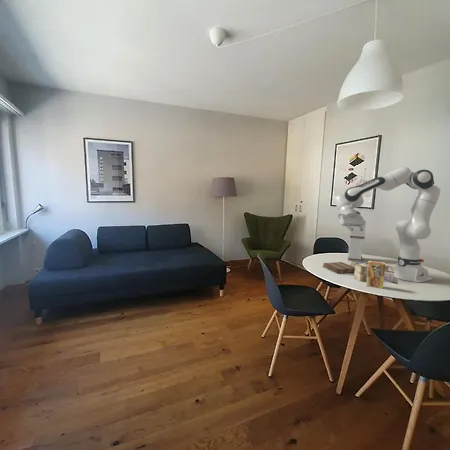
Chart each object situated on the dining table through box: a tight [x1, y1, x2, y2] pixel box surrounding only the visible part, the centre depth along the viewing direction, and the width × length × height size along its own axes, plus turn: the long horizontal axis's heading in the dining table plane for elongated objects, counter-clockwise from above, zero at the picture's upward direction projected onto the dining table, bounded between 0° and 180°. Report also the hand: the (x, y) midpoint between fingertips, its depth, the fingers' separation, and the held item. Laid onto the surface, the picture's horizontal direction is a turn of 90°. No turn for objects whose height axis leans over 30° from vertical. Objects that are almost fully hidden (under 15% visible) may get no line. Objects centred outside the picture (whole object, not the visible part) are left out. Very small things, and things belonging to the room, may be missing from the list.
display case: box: [347, 218, 367, 263], centre depth 217 cm, size 11×11×35 cm
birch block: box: [353, 263, 368, 282], centre depth 170 cm, size 5×5×10 cm
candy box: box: [366, 260, 386, 289], centre depth 158 cm, size 9×4×15 cm, turn 62°
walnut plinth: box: [322, 261, 355, 274], centre depth 191 cm, size 16×16×3 cm
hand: (357, 230), depth 176 cm, fingers open, 8 cm apart
